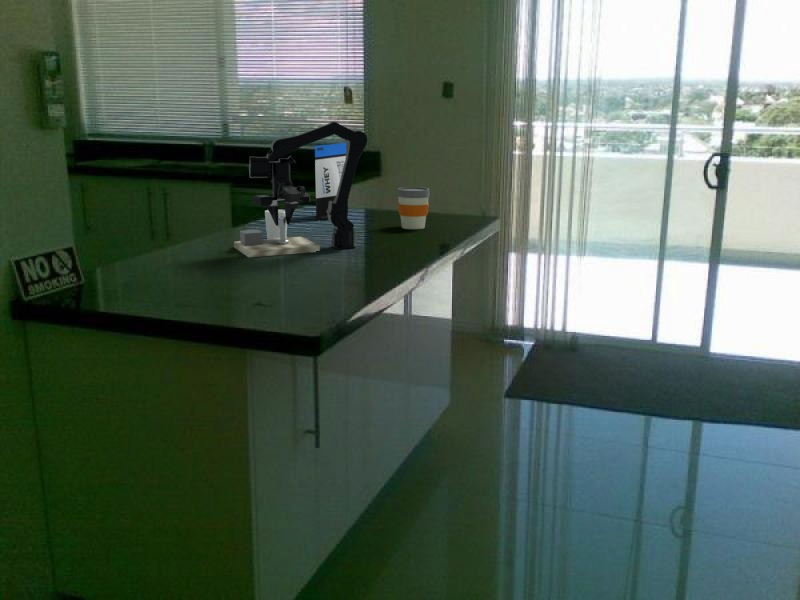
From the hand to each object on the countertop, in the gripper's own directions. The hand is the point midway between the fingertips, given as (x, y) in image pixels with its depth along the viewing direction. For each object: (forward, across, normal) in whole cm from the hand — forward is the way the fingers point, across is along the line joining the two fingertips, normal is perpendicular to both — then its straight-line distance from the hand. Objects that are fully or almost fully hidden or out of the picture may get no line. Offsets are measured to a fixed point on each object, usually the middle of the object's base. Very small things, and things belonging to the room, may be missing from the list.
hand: (282, 225), depth 263 cm
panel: (+8, -2, +2) cm, 9 cm away
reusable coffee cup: (+8, +64, +8) cm, 65 cm away
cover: (+6, -8, +7) cm, 12 cm away
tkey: (+6, -2, +2) cm, 6 cm away
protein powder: (+8, +53, +47) cm, 72 cm away
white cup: (+8, +9, +18) cm, 22 cm away
